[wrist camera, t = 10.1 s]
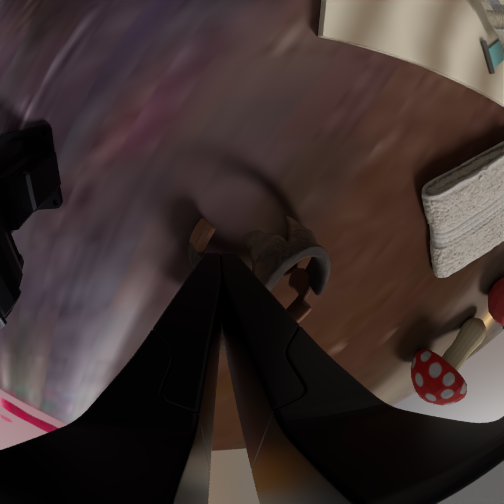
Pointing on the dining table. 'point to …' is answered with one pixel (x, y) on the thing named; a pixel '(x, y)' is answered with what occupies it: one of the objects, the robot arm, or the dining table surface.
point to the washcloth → (465, 211)
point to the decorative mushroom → (446, 366)
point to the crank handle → (495, 18)
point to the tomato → (497, 302)
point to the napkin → (424, 37)
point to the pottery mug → (276, 261)
